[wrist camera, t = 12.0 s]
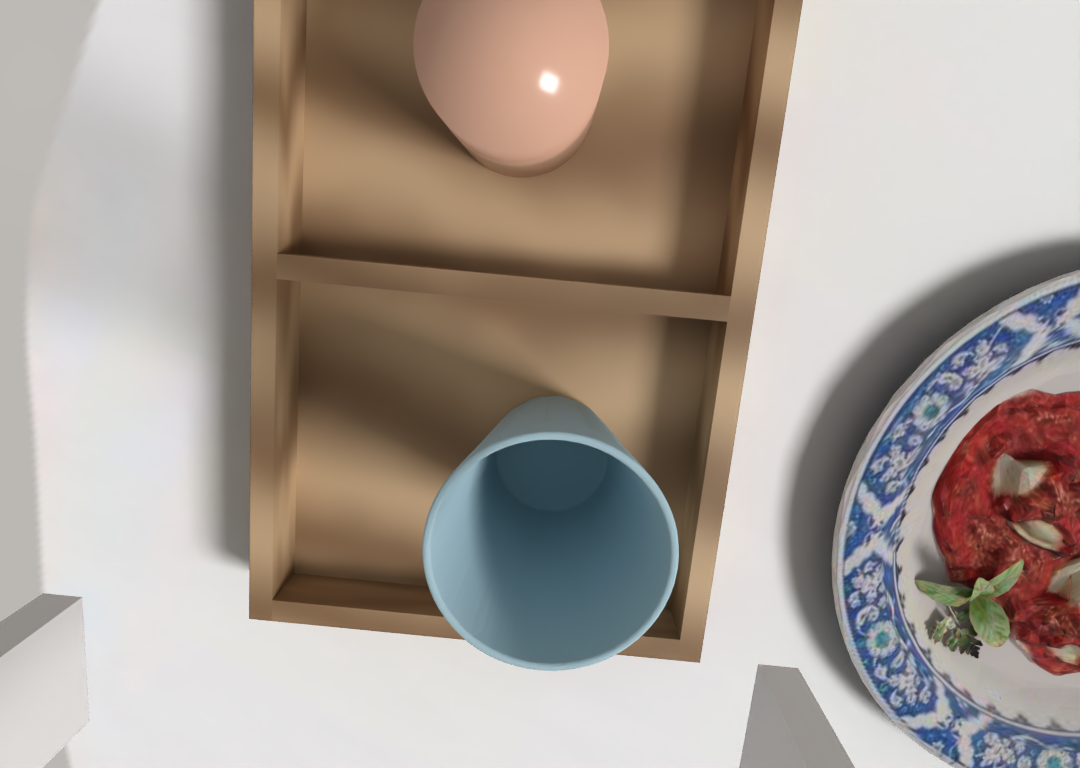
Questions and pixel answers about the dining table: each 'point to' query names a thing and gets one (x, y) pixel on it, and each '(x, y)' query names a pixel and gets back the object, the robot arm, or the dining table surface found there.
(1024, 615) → the ceramic plate
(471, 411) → the divided wooden tray
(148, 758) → the dining table surface
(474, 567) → the cup
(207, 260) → the dining table surface
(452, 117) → the tan rounded piece
